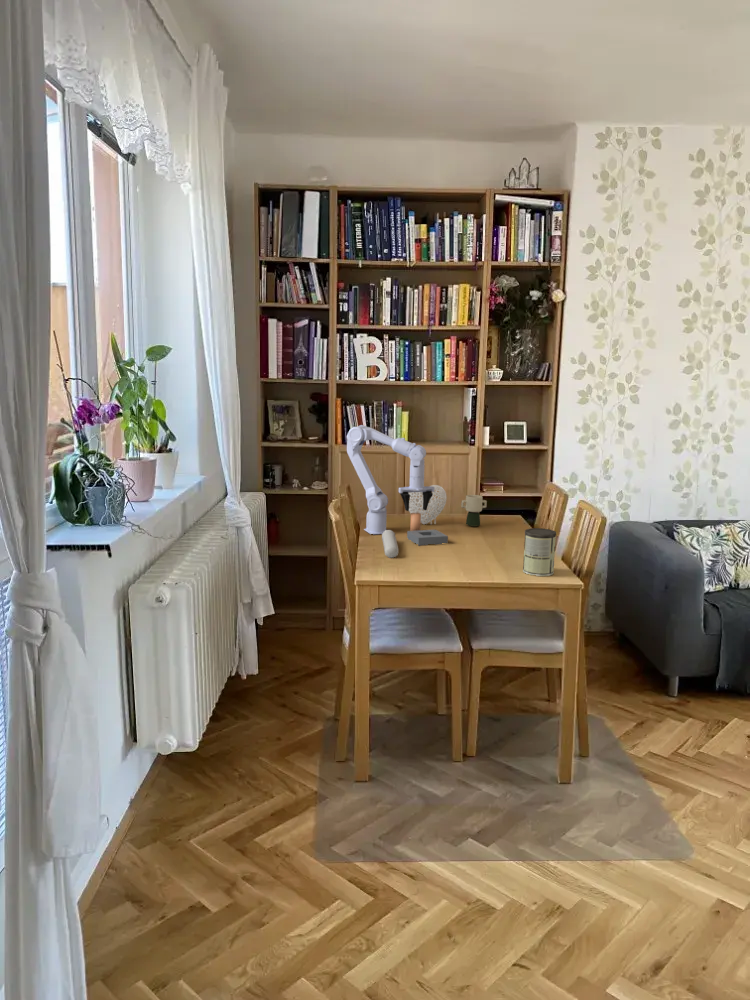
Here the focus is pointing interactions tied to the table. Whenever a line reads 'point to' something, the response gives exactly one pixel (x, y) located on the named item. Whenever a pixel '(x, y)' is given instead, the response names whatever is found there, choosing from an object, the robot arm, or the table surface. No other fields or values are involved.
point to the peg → (415, 521)
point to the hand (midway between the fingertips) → (415, 510)
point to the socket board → (427, 537)
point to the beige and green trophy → (473, 509)
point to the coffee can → (539, 552)
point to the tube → (390, 544)
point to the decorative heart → (431, 505)
